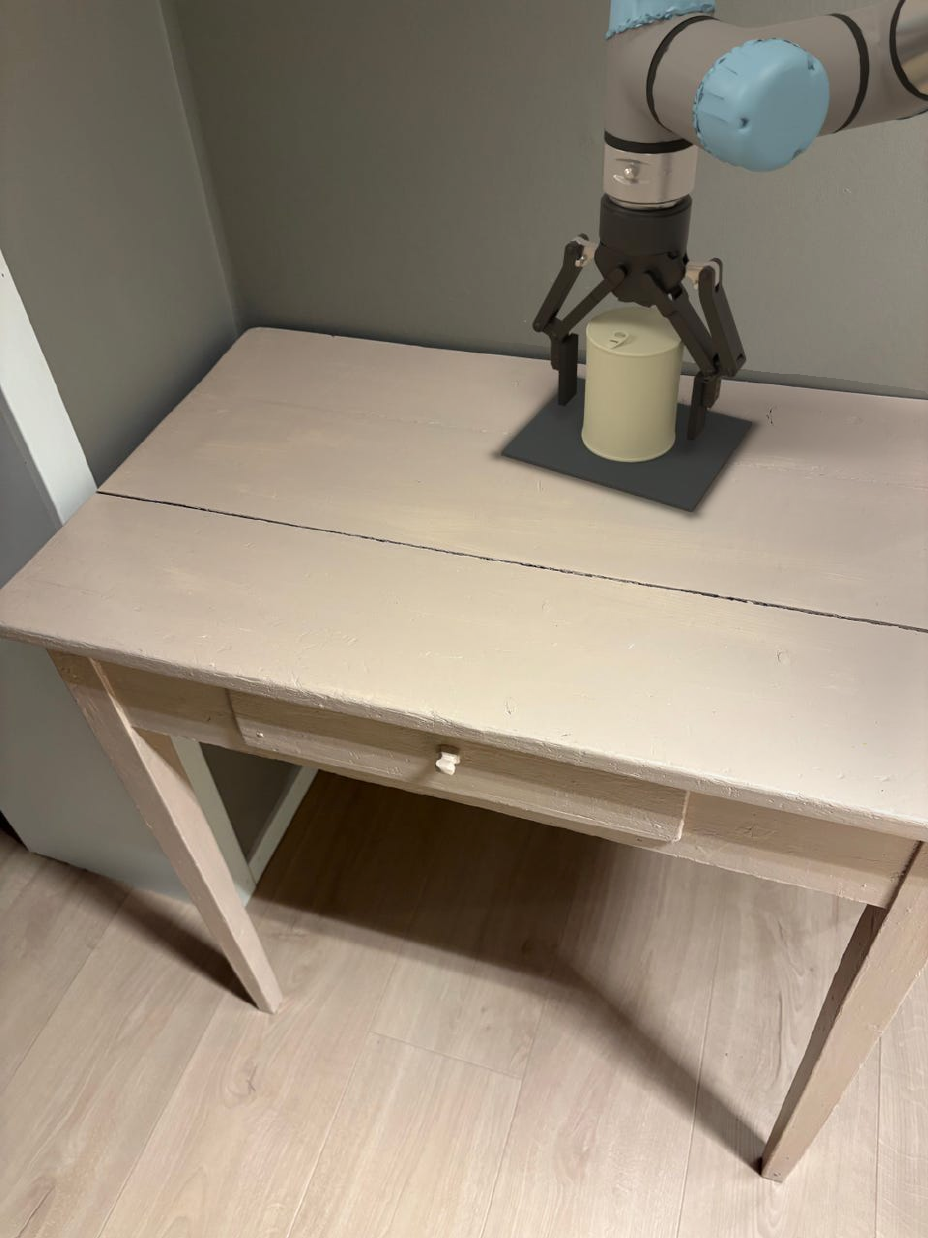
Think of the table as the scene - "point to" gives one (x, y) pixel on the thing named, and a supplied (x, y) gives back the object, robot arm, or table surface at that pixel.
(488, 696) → the table surface
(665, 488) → the mat
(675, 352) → the can
